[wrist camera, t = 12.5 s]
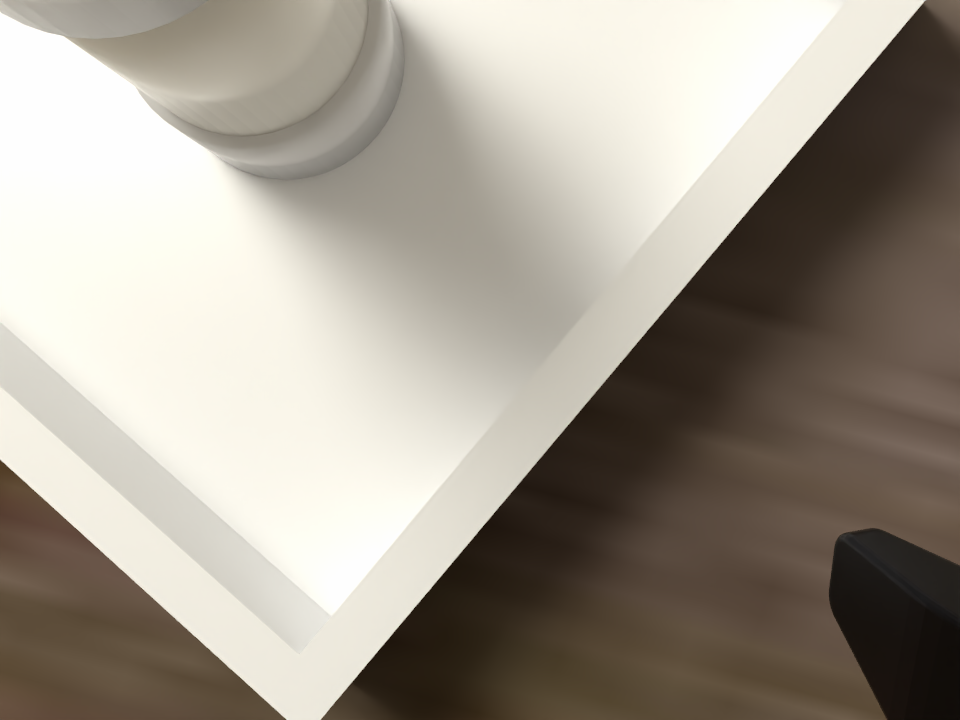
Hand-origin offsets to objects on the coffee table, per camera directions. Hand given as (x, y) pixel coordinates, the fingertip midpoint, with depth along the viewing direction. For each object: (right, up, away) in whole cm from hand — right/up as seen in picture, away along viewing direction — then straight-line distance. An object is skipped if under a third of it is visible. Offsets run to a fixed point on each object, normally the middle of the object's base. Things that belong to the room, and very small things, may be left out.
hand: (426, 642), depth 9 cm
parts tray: (-3, +9, +10) cm, 14 cm away
